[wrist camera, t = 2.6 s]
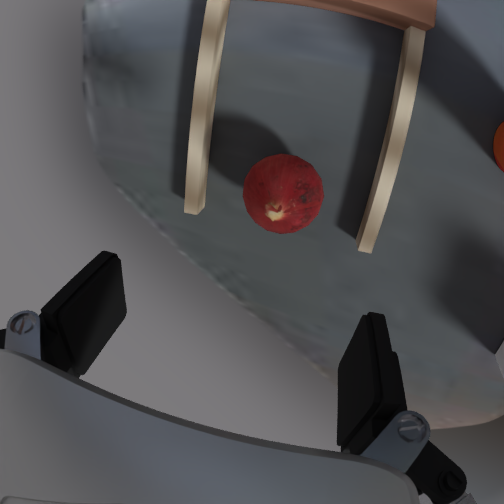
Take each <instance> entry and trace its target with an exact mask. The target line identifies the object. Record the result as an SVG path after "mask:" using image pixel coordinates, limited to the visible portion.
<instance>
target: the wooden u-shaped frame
mask: <svg viewBox="0 0 504 504" xmlns="http://www.w3.org/2000/svg"><path fill="white" fill-rule="evenodd" d="M255 1H268V2H278V3H287V4H294V5H301V6H308V7H314V8H319V9H325V10H330V11H335V12H340V13H344V14H349V15H353V16H357V17H361V18H365V19H368V20H372V21H376V22H379V23H382V24H386V25H389V26H392V27H395V28H398V29H401V30H404V36H403V43H402V49H401V56H400V62H399V68H398V74H397V79H396V84H395V90H394V95H393V100H392V105H391V109H390V114H389V119H388V123H387V128H386V132H385V136H384V141H383V145H382V149H381V153H380V157H379V161H378V165H377V169H376V172H375V176H374V180H373V183H372V187H371V191H370V194H369V198H368V201H367V205H366V208H365V211H364V215H363V218H362V221H361V225H360V228H359V231H358V234H357V237H356V243H357V248H358V250H359V251H363V252H367V253H371V252H372V249H373V246H374V244H375V241H376V238H377V235H378V232H379V229H380V226H381V223H382V220H383V217H384V214H385V211H386V207H387V204H388V201H389V198H390V194H391V191H392V188H393V184H394V181H395V177H396V174H397V170H398V166H399V163H400V159H401V155H402V151H403V147H404V144H405V139H406V135H407V131H408V127H409V123H410V118H411V114H412V109H413V104H414V99H415V94H416V89H417V84H418V79H419V73H420V67H421V61H422V54H423V48H424V40H425V33H426V31H427V30H429V29H431V28H433V27H435V17H436V6H437V0H255ZM229 5H230V0H207V4H206V10H205V16H204V22H203V28H202V35H201V42H200V48H199V56H198V63H197V71H196V79H195V87H194V95H193V105H192V114H191V124H190V135H189V147H188V159H187V173H186V189H185V206H184V212H185V213H190V214H195V215H197V214H198V213H199V212H200V211H201V210H202V209H203V208H204V207H205V196H206V184H207V173H208V163H209V153H210V143H211V134H212V125H213V117H214V108H215V100H216V92H217V84H218V77H219V70H220V62H221V55H222V49H223V42H224V36H225V29H226V23H227V17H228V11H229Z"/></svg>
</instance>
